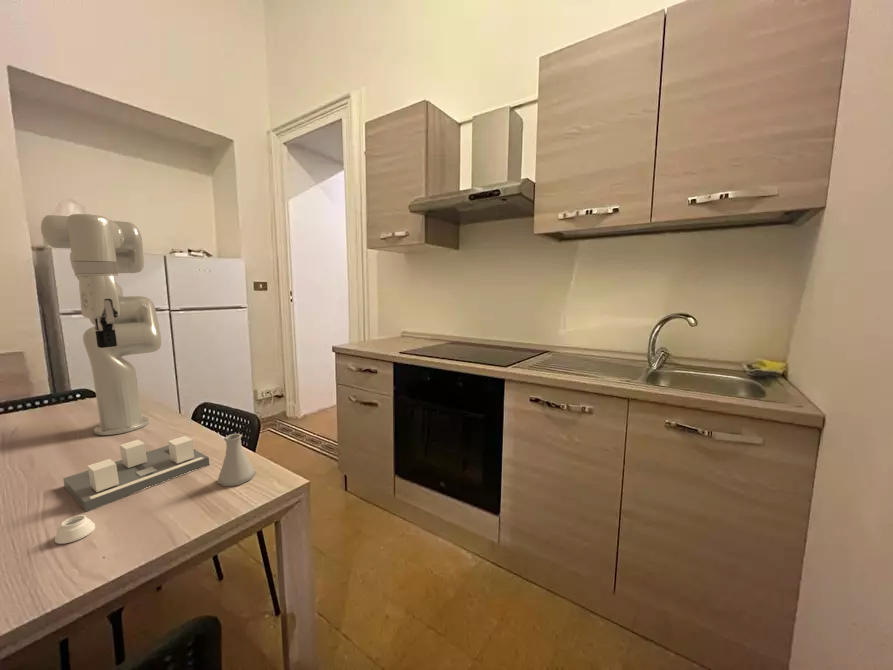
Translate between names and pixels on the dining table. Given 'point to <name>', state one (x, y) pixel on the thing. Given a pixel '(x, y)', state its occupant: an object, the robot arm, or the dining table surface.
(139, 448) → the tab
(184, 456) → the cream cube
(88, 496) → the switch panel
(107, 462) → the tab
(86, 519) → the upside-down white bowl
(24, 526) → the dining table surface
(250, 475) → the flask
